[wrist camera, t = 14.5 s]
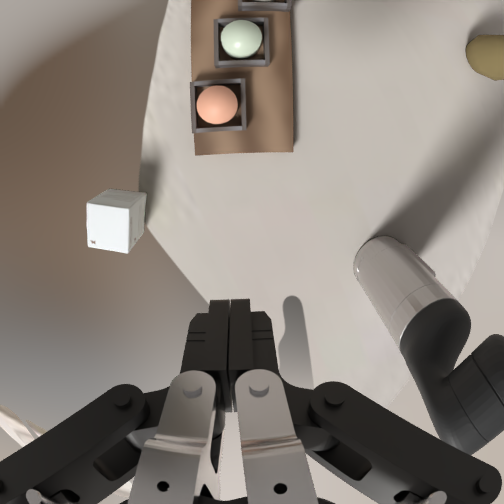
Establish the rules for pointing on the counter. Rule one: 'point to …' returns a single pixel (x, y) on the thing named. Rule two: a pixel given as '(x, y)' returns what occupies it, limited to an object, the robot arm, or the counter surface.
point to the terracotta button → (217, 104)
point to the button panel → (243, 77)
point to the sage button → (241, 39)
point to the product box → (116, 219)
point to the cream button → (263, 0)
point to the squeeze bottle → (487, 55)
